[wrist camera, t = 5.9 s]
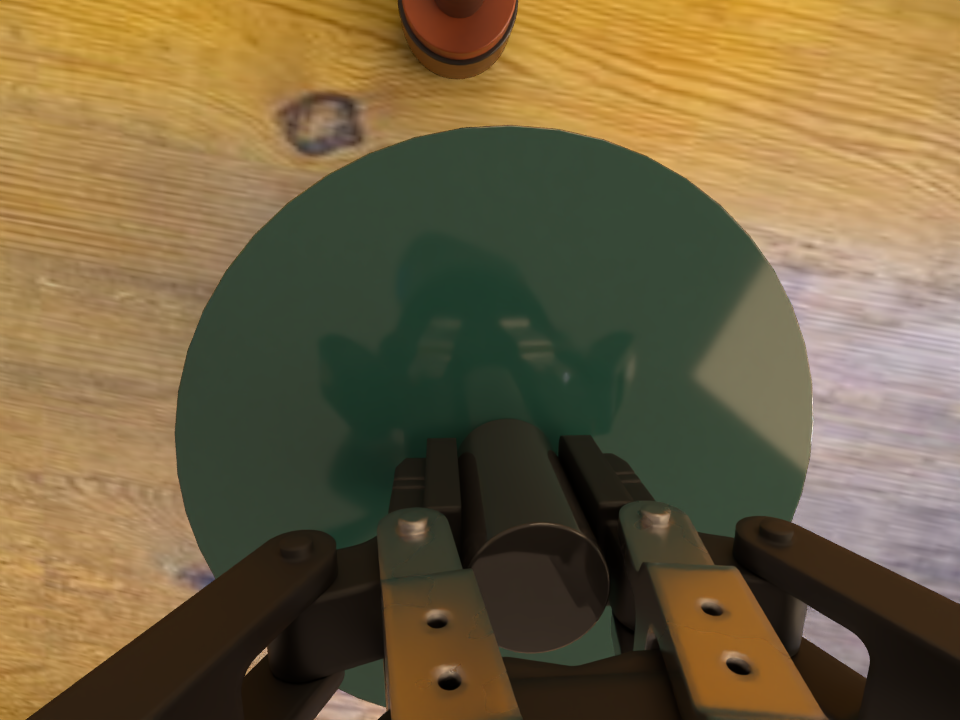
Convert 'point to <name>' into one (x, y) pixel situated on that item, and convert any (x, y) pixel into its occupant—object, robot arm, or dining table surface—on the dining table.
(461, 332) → the lid
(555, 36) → the dining table surface
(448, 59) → the brush
